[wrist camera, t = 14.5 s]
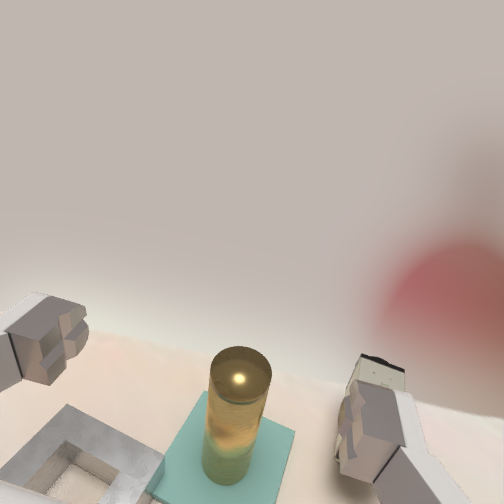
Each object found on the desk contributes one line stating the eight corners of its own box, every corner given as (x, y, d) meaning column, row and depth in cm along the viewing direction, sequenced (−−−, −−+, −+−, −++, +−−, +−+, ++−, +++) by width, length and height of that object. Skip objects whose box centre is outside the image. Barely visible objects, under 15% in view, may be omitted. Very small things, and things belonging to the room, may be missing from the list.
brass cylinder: (192, 470, 33) (199, 380, 26) (215, 426, 37) (226, 338, 30) (238, 495, 31) (259, 408, 24) (257, 446, 36) (279, 359, 29)
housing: (-51, 557, 26) (-69, 536, 24) (72, 426, 36) (67, 403, 34) (65, 647, 23) (56, 632, 21) (165, 476, 33) (165, 455, 31)
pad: (144, 492, 31) (144, 488, 31) (204, 394, 41) (204, 390, 41) (258, 558, 28) (260, 554, 28) (293, 435, 38) (295, 431, 38)
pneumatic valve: (320, 495, 33) (355, 427, 27) (337, 402, 43) (365, 337, 37) (375, 522, 32) (424, 457, 26) (379, 420, 41) (416, 355, 35)
